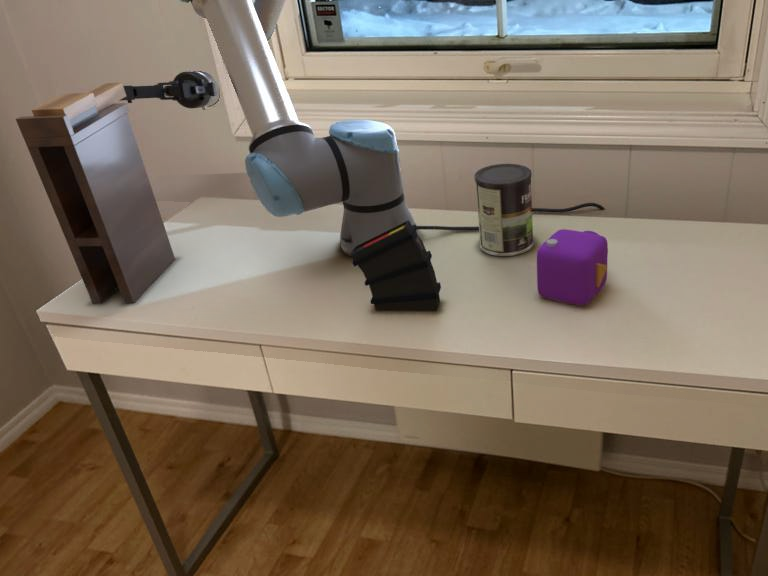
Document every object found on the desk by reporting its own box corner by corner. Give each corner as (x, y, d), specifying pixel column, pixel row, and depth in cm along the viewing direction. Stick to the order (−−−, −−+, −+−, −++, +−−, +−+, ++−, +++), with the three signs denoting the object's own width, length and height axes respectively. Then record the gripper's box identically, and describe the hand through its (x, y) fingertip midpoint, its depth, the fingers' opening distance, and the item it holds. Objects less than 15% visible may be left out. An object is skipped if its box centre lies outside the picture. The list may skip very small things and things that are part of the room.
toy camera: (614, 272, 131) (616, 218, 125) (598, 311, 120) (600, 255, 115) (554, 266, 134) (553, 214, 129) (533, 304, 124) (531, 249, 118)
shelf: (177, 257, 148) (121, 85, 130) (134, 303, 134) (63, 117, 115) (139, 257, 149) (78, 87, 131) (92, 303, 135) (15, 119, 116)
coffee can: (537, 233, 146) (535, 163, 138) (529, 257, 138) (526, 184, 130) (485, 232, 148) (480, 162, 140) (474, 256, 140) (468, 183, 132)
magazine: (455, 303, 122) (406, 227, 115) (389, 332, 127) (338, 261, 120) (459, 292, 125) (411, 217, 118) (394, 321, 130) (344, 250, 123)
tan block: (132, 95, 135) (125, 75, 133) (71, 131, 119) (62, 108, 117) (104, 97, 136) (97, 76, 134) (40, 132, 120) (31, 109, 118)
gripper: (253, 105, 165) (213, 109, 145) (145, 110, 167) (91, 114, 148) (248, 68, 162) (206, 68, 143) (138, 74, 165) (82, 74, 145)
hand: (147, 92), depth 145 cm, fingers open, 13 cm apart
